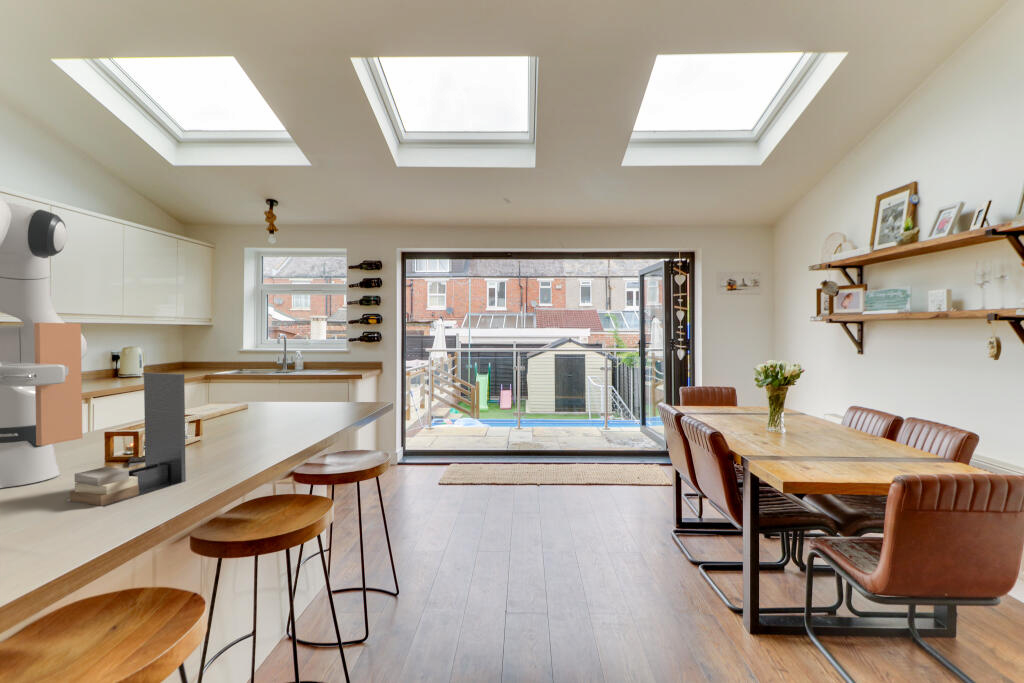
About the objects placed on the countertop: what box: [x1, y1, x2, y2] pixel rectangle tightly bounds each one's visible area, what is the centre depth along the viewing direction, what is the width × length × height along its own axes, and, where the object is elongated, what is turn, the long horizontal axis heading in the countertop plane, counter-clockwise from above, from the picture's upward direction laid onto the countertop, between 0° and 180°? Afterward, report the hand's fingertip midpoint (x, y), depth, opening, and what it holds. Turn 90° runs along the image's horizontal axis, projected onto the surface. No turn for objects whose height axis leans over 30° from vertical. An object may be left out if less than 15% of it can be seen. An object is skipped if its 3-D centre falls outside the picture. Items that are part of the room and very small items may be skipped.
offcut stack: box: [69, 466, 139, 507], centre depth 108 cm, size 8×10×6 cm
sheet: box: [34, 322, 83, 446], centre depth 99 cm, size 7×2×24 cm, turn 162°
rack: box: [65, 372, 187, 508], centre depth 112 cm, size 18×12×28 cm, turn 162°
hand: (61, 370), depth 99 cm, fingers closed on sheet, 2 cm apart
